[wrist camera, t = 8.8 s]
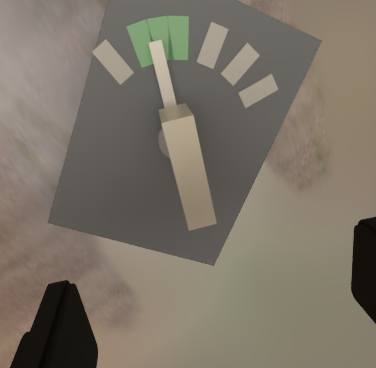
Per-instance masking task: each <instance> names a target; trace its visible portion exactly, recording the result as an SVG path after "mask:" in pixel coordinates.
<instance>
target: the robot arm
mask: <svg viewBox="0 0 376 368" xmlns="http://www.w3.org/2000/svg"><path fill="white" fill-rule="evenodd" d="M353 242H354V243H353V262H352V282H351V290H352V294H353V296H354V298H355V300H356V301H357V302H358V303H359V304H360V306H361V307H362V308H363V309H364V310H365V311H366V313H367V314H368V315H369V316H370V318H371V319H372V320H373V321H374V322H375V323H376V217H373V218H368V219H363V220H360V221H359V223H358V225H356V226H355V228H354V241H353ZM97 359H98V347H97V343H96V340H95V337H94V334H93V332H92V329H91V326H90V323H89V320H88V317H87V315H86V312H85V309H84V306H83V303H82V301H81V298H80V295H79V292H78V289H77V287H76V285H75V284H74V283H73V284H70V283H69V281H67V280H65V281H60V282H55V283H51V284H48V286H47V288H46V291H45V294H44V296H43V299H42V301H41V304H40V307H39V309H38V312H37V314H36V317H35V320H34V322H33V325H32V328H31V330H30V332H26V333H25V334H24V335H23V337H22V339H21V341H20V344H19V346H18V349H17V351H16V354H15V356H14V359H13V361H12V364H11V366H10V368H96V366H97Z"/></svg>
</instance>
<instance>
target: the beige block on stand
mask: <svg viewBox="0 0 376 368" xmlns="http://www.w3.org/2000/svg"><path fill="white" fill-rule="evenodd" d="M149 47H150V51H151V55H152V59H153V63H154V67H155V71H156V75H157V79H158V83H159V87H160V91H161V96H162V100H163V104H164V108H163V109H159V115H160V119H161V124H162V126H161V128H160V130H159V133H158V143H159V147H160V149H161V151H162V153H163V154H164V155H165V156H167V157H168V158H170V159H171V163H172V167H173V171H174V175H175V178H176V182H177V186H178V190H179V194H180V198H181V202H182V206H183V210H184V213H185V217H186V221H187V225H188V229H189V231H191V230H194V229H198V228H202V227H206V226H210V225H214V224H217V222H216V218H215V213H214V208H213V204H212V199H211V194H210V190H209V185H208V180H207V176H206V171H205V166H204V162H203V157H202V153H201V148H200V143H199V139H198V134H197V129H196V125H195V120H194V115H193V114H192V112H191V111H190V109H189V108H188V106H187V105H186V103H183V104H179V105H177V104H176V100H175V96H174V91H173V87H172V83H171V78H170V74H169V70H168V66H167V61H166V57H165V53H164V48H163V44H162V40H157V41H153V42H149Z"/></svg>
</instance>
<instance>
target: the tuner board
mask: <svg viewBox="0 0 376 368" xmlns="http://www.w3.org/2000/svg"><path fill="white" fill-rule="evenodd" d="M157 40H162V44H163V48H164V53H165V57H166V61H167V66H168V70H169V74H170V78H171V83H172V87H173V91H174V96H175V100H176V104H177V105H179V104H183V103H186V105H187V106H188V108H189V109H190V111H191V112H192V114H193V115H194V120H195V125H196V129H197V134H198V139H199V143H200V148H201V153H202V157H203V162H204V166H205V171H206V176H207V180H208V185H209V190H210V194H211V199H212V204H213V208H214V213H215V218H216V222H217V224H214V225H210V226H206V227H202V228H198V229H194V230H191V231H189V229H188V225H187V221H186V217H185V213H184V210H183V206H182V202H181V198H180V194H179V190H178V186H177V182H176V178H175V175H174V171H173V167H172V163H171V159H170V158H168V157H167V156H165V155H164V154H163V153H162V151H161V149H160V147H159V143H158V133H159V130H160V128H161V126H162V124H161V119H160V115H159V109H163V108H164V104H163V100H162V96H161V91H160V87H159V83H158V79H157V75H156V71H155V67H154V63H153V59H152V55H151V51H150V47H149V42H153V41H157ZM321 42H322V41H321V40H319V39H317V38H315V37H313V36H311V35H309V34H307V33H304V32H302V31H300V30H298V29H296V28H294V27H292V26H290V25H288V24H285V23H283V22H281V21H279V20H277V19H275V18H273V17H271V16H269V15H266V14H264V13H262V12H260V11H258V10H256V9H254V8H252V7H250V6H247V5H245V4H243V3H241V2H239V1H237V0H108V4H107V8H106V11H105V15H104V19H103V22H102V26H101V30H100V33H99V37H98V41H97V44H96V48H95V50H94V51H92V53H93V54H94V55H93V59H92V63H91V66H90V70H89V74H88V77H87V81H86V85H85V88H84V92H83V96H82V99H81V103H80V107H79V110H78V114H77V118H76V121H75V125H74V129H73V132H72V136H71V140H70V143H69V147H68V151H67V154H66V158H65V162H64V165H63V169H62V173H61V176H60V180H59V184H58V187H57V191H56V195H55V198H54V202H53V206H52V209H51V213H50V217H49V220H48V223H50V224H54V225H58V226H62V227H66V228H70V229H73V230H77V231H81V232H85V233H89V234H93V235H97V236H101V237H104V238H108V239H112V240H116V241H120V242H124V243H128V244H131V245H135V246H139V247H143V248H147V249H151V250H155V251H159V252H163V253H167V254H170V255H174V256H178V257H182V258H186V259H190V260H194V261H197V262H201V263H205V264H210V265H214V264H215V262H216V260H217V258H218V256H219V254H220V251H221V249H222V247H223V245H224V243H225V241H226V239H227V237H228V235H229V233H230V231H231V229H232V227H233V225H234V222H235V220H236V218H237V216H238V214H239V212H240V210H241V208H242V206H243V204H244V202H245V200H246V198H247V195H248V193H249V191H250V189H251V187H252V185H253V183H254V181H255V179H256V177H257V175H258V173H259V171H260V168H261V166H262V164H263V162H264V160H265V158H266V156H267V154H268V152H269V150H270V148H271V146H272V144H273V141H274V139H275V137H276V135H277V133H278V131H279V129H280V127H281V125H282V123H283V121H284V119H285V117H286V114H287V112H288V110H289V108H290V106H291V104H292V102H293V100H294V98H295V96H296V94H297V92H298V89H299V87H300V85H301V83H302V81H303V79H304V77H305V75H306V73H307V71H308V69H309V67H310V65H311V62H312V60H313V58H314V56H315V54H316V52H317V50H318V48H319V46H320V44H321Z"/></svg>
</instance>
